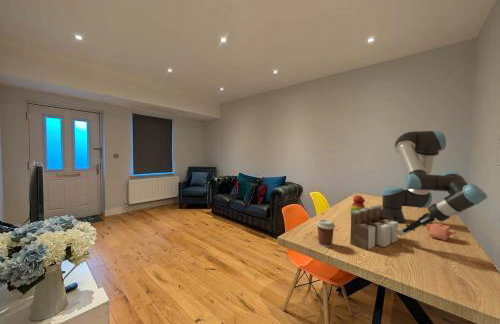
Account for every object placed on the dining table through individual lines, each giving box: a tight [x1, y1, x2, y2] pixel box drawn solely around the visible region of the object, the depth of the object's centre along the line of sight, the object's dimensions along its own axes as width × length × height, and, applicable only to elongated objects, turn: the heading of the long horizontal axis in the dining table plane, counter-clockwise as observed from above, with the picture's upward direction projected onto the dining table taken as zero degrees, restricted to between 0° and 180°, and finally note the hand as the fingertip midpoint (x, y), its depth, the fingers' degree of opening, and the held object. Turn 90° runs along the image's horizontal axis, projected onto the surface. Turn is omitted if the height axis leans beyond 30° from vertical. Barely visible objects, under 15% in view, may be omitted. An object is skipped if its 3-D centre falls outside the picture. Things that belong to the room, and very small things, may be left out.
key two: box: [374, 222, 391, 248], centre depth 106 cm, size 6×6×10 cm
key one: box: [382, 219, 399, 244], centre depth 110 cm, size 6×6×10 cm
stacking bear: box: [350, 194, 366, 213], centre depth 143 cm, size 11×10×18 cm
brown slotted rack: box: [349, 204, 393, 251], centre depth 109 cm, size 28×8×17 cm, turn 123°
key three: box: [360, 223, 376, 250], centre depth 103 cm, size 6×6×10 cm
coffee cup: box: [315, 219, 336, 248], centre depth 105 cm, size 9×9×12 cm
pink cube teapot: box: [426, 222, 457, 242], centre depth 113 cm, size 8×12×8 cm, turn 36°
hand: (398, 233), depth 106 cm, fingers closed
